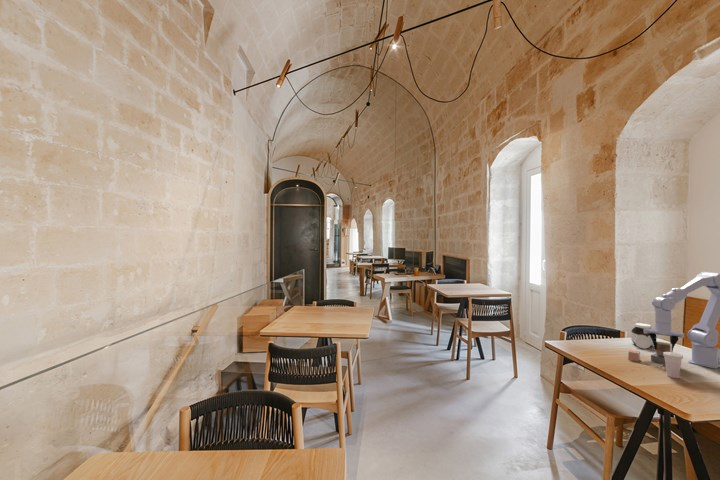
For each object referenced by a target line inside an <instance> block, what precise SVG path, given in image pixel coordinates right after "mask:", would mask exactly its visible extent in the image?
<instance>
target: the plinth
mask: <svg viewBox="0 0 720 480" xmlns="http://www.w3.org/2000/svg"><path fill="white" fill-rule="evenodd" d="M650 361H652V362H656V363H660V364H664V365H663V366H666V365H665V358H664V355H659V354H657V353H656V352H655V353H653V354H651V355H650Z"/></svg>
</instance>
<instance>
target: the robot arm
mask: <svg viewBox="0 0 720 480" xmlns="http://www.w3.org/2000/svg"><path fill="white" fill-rule="evenodd" d="M702 287H705V288H707V289H708V290H709V292H710V296H709V298H708V300H707V303H706V305H705V307H704V308H705V309H704V311H703V313H702V316H701V317H700V320H699V322H698V323H695V324H693V325H692V327H691V329H690V330H688V331H687V335H686V336H687V338H688V339H689V341H690V344H691V360H689V361H688V363H690V364H693V365H698V366H702V367H706V368H711V369H714V370H715V369H718V368H720V348H718V347H716V346H717V345H718V343H719V335H720V333H719V331H718V330H717V329H716V326H717V324H718V322H719V320H720V272H711V271H707V270H706V271H701V272H700V273H698V274H697V275H696V276H695V278H693V279H692V280H690V281H688V282H687V283H686V284H685V285H683V286H681V287H675V288H674V287H673V288H671V289H670V291H668V292H666V293H665V294H664V293H663V294H662V295H661V296H657V297H656V296H655V298H654V299H653V301H651V305H652V306H653V307H654V311H655V314H654V315H655V319H654V320H655V323H654V324H655V326H654V327H655V328H654V329H652V328H651V329H644V333H645V334H647V333H648V334H649V335H650V337H651V339H652V341H653V344H654V346H653V347H654V350H655V351H656V350H657V345H656V341H657V336H666V337H669V341H670V342H669V343H670V344H672V352H674V348H675V346H676V344H677V342H678V341H679V338H680V339H685V333H684V332H677V331H672V310H674V309H675V307H676V305H677V304H678V303H680V302H682V301H684V300H686V299H687V298H688V294H690V293H692V292H695V291H696V290H698V289H699V288H702Z"/></svg>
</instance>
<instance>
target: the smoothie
mask: <svg viewBox="0 0 720 480" xmlns="http://www.w3.org/2000/svg"><path fill="white" fill-rule="evenodd" d="M663 355H664V358H665V365H664V366H665V370H666V376H667V377H670V378H674V379H678V378H679V377H680V372H681V366H682V359H684V356H683V354H680V353H677V352H674V351H673V352H672V344H670V352H663Z"/></svg>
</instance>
